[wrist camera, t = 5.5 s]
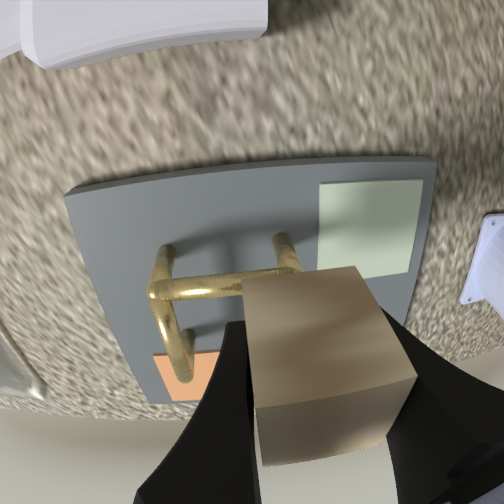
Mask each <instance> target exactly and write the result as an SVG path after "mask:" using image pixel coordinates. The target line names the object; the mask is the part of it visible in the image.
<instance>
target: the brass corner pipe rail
mask: <svg viewBox="0 0 504 504" xmlns="http://www.w3.org/2000/svg"><path fill="white" fill-rule="evenodd" d="M272 245H273V249H274V252H275V256H276V259H277V263H278V266H279V268H270V269H261V270H252V271H242V272H233V273H223V274H213V275H204V276H194V277H183V278H173V279H171V278H172V273H173V268H174V263H175V259H176V250H175V248H174V247H172V246H171V245H162V246H161V247H160V248H159V249H158V252H157V255H156V259H155V262H154V265H153V269H152V272H151V275H150V279H149V282H148V286H147V289H146V293H147V297H148V300H149V303H150V306H151V309H152V312H153V315H154V318H155V321H156V324H157V326H158V329H159V332H160V335H161V338H162V341H163V343H164V346H165V349H166V351H167V354H168V357H169V359H170V362H171V365H172V367H173V370H174V372H175V375H176V377H177V379H178V381H179V382H181V383H184V384H187V383H190V382H191V381H192V380H193V377H194V360H195V341H196V333H195V332H194V331H193V330H192V329H183V330H182V331H181V332H180V328H179V325H178V322H177V318H176V315H175V311H174V308H173V304H172V301H184V300H195V299H206V298H216V297H226V296H236V295H243V294H242V285H241V279H243V278H253V277H262V276H271V275H280V274H289V273H297V272H303V269H302V266H301V264H300V261H299V259H298V256H297V253H296V251H295V248H294V246H293V243H292V241H291V238H290V236H289V235H288V234H287V233H284V232H280V233H277V234H276V235H274V237H273V238H272Z"/></svg>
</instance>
